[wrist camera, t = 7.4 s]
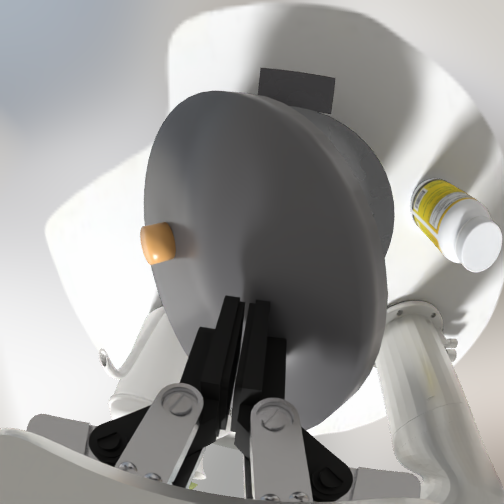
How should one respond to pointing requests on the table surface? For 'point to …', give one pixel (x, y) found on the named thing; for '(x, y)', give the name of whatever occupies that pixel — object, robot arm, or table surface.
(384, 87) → the table surface
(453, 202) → the pill bottle
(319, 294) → the cooker lid
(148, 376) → the coffeepot
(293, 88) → the cooker pot
